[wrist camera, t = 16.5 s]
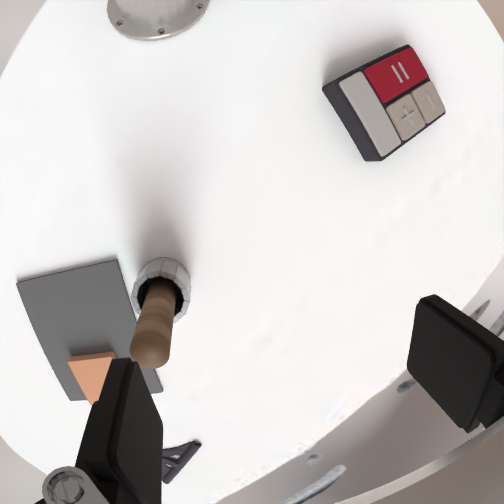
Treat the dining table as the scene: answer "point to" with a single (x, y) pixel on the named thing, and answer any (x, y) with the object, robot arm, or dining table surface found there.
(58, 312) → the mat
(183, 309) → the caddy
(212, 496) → the dining table surface
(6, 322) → the dining table surface
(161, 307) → the rod
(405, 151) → the dining table surface
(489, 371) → the robot arm
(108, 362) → the tile
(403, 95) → the calculator
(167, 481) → the bracket
